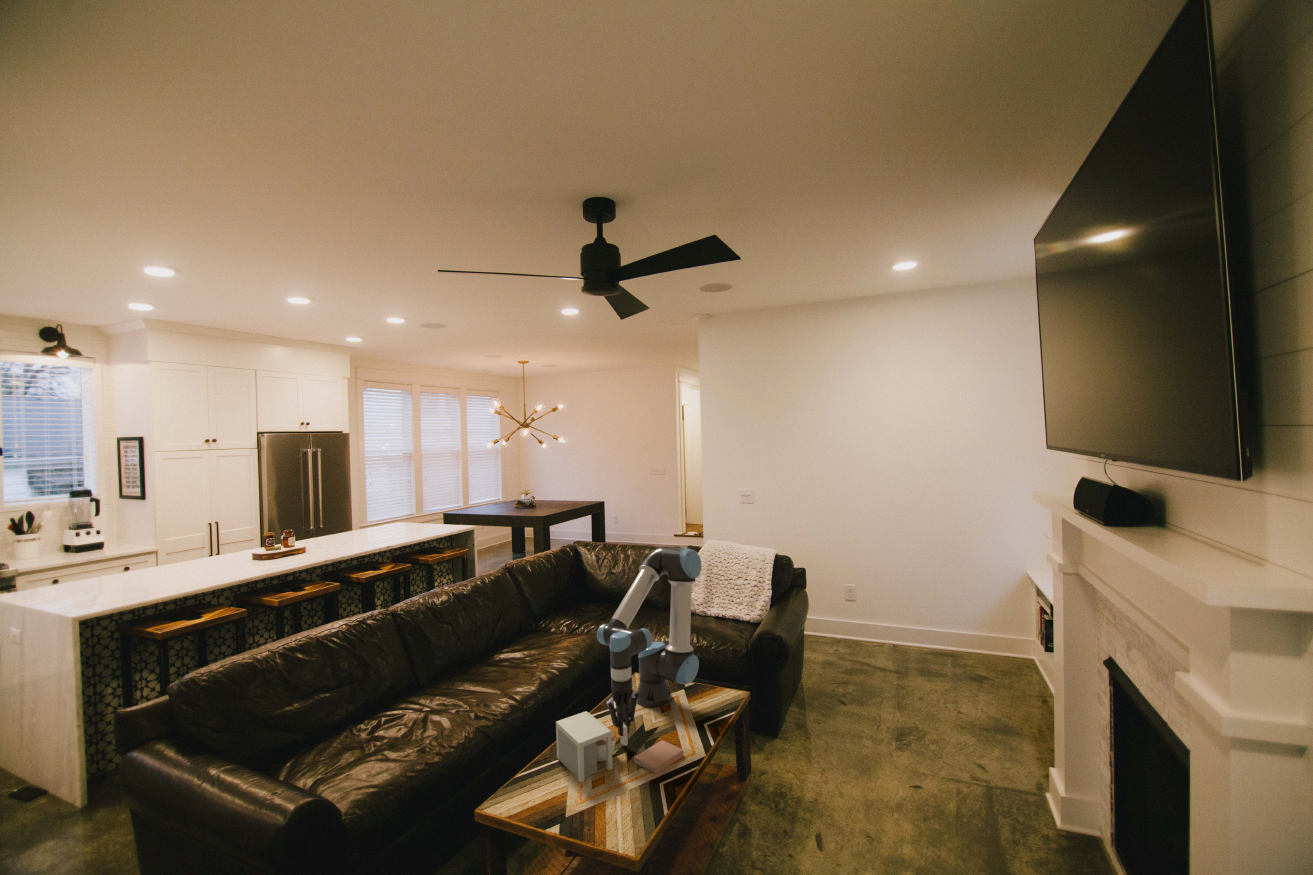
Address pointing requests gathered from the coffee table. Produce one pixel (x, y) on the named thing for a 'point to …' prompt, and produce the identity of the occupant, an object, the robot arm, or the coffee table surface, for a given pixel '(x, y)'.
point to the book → (658, 756)
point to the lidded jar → (604, 747)
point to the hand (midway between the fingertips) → (624, 743)
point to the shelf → (582, 744)
